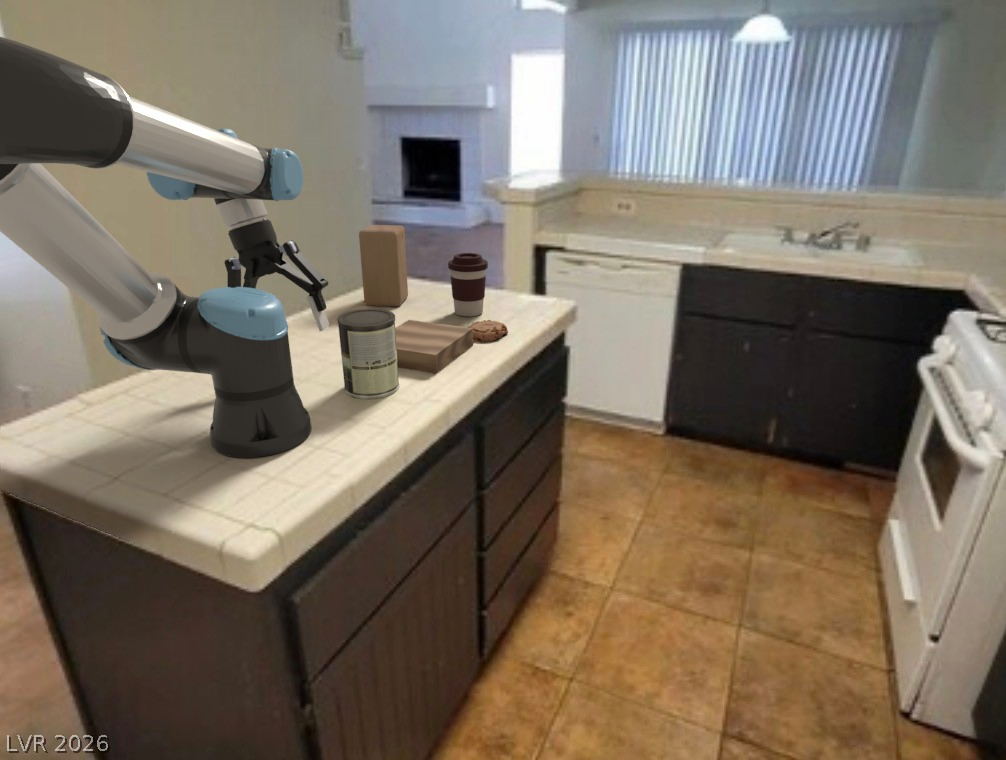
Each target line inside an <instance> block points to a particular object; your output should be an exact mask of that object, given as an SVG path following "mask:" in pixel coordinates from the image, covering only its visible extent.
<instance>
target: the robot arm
mask: <svg viewBox="0 0 1006 760" xmlns="http://www.w3.org/2000/svg"><path fill="white" fill-rule="evenodd" d="M42 164H63V165H74V166H75V165H76V166H81V167H85V168H89V169H90V168H91V169H97V170H98V169H99V170H100V169H106V168H109V167H112V166H114V165H117V166H121V167H122V166H123V167H126V168H130V169H134V170H138V171H143V172H146V175H147V180H148V182H149V185H150V186H151V188H152V189H153V190H154V191H155V193H157V194H158V195H159V196H160V197H162V198H164V199H167V200H169V201H176V200H177V201H179V200H180V201H181V200H182V201H187V200H188V199H192V198H193V199H195V198H200V199H202V198H204V199H213V200H214V202H215V204H216V208H217V211H218V213H219V216H220V218H221V220H222V224H223V225H224V227H225V228H229V229H230V230H228V233H227V234H228V237H229V239H230V242H231V244H232V246H233V249H234V250H235V251H236V253H237V254H238V257H236V256H233V257H231V258H227V259H225V260H224V265H225V269H226V273H227V286H223V287H218V288H217V287H216V288H213V289H208V290H206V291H204V292H202V294H200V295H199V296H190V295H187V294H185V293H184V292H182V290H181V289H179V287H178V285H176V284H175V283H174V282H173V280H171V278H169V277H167V276H165V275H164V274H162V273H160V272H152V271H150V272H149V271H147V270H146V269H145V268H144V267H143V266H142V265H141V264H140V263H139V262H138V260H136V259H135V258H134V257H133V255H131V253H130V252H129V251H127V250H126V248H125V247H123V246H122V245H121V243H120V242H119V241H118V240H116V238H114V236H113V235H111V233H110V232H109V231H108V230H107V229H106V228H105V227H104V226H103V225H102V224H101V223H100V222H99V221H98V220H97V219H96V218H95V217H94V216H93V215H92V214H91V213H90V212H89V211H88V210H87V209H86V208H85V207H84V206H83V205H82V204H81V203H80V202H79V201H78V200H77V199H76V198H75V197H74V196H73V195H72V194H71V193H70V191H68V190H67V189H66V188H65V187H64V186H63V185H62V184H61V182H59V181H58V180H57V179H56V178H55V177H54V175H52V174H51V172H49V171H48V170H47V169H46V167H44V166H43V165H42ZM303 186H304V170H303V165H302V162H301V161H300V159H299V156H298V155H297V154H296V153H295V152H294V151H292V150H290V149H286V148H285V149H284V148H283V149H282V148H278V147H273V148H266V147H261V146H259V145H255V144H253V143H249V142H246V141H244V140H242V139H240V138H238V135H237V133H236V132H235V131H234V130H232V129H230V128H220V129H214V128H212V127H209V126H205V125H204V124H201V123H198V122H196V121H194V120H191V119H189V118H186V117H183V116H181V115H179V114H176V113H174V112H170V111H168V110H165V109H163V108H161V107H157V106H156V105H153V104H151V103H147V102H145V101H143V100H140V99H137V98H135V97H133V96H131V95H128V94H127V92H126V90H125V89H124V88H123V87H122V86H121V85H120V84H119V83H118V82H117V81H116V80H114V79H112V77H111V78H110V77H109V76H106V75H104V74H102V73H99V72H97V71H95V70H92V69H90V68H87V67H85V66H82V65H80V64H78V63H75V62H72V61H70V60H67V59H66V58H62V57H60V56H58V55H55V54H53V53H50V52H47V51H45V50H42V49H39V48H36V47H33V46H31V45H28V44H25V43H22V42H21V41H17V40H13V39H10V38H7V37H3V36H0V233H1V234H3V235H4V236H5V237H7V238H8V239H9V240H10V241H11V242H12V243H13V244H15V245H16V246H17V247H18V248H20V250H22V251H23V252H25V253H26V254H27V255H28V256H29V257H31V258H32V259H33V260H34V261H35V262H36V263H38V264H39V265H40V266H41V267H43V268H44V269H45V270H46V271H47V272H49V274H51V275H52V276H53V277H54V278H56V279H57V280H58V281H59V282H61V283H62V285H64V286H65V287H67V288H68V289H69V290H70V291H72V293H74V294H75V295H77V297H79V298H80V299H81V300H83V302H85V303H86V304H87V305H88V306H90V307H91V308H92V309H94V311H96V312H97V314H98V315H97V320H98V325H99V330H100V334H101V335H102V336H104V339H103V341H102V342H103V344H104V346H105V348H106V350H107V351H108V353H110V354H111V356H113V357H114V358H115V360H118V361H119V362H121V363H123V364H124V365H127V366H131V367H134V368H137V369H142V370H149V371H157V370H160V371H170V372H171V371H173V372H183V373H196V374H203V375H204V374H205V375H210V376H211V379H212V383H213V388H214V395H215V399H214V406H213V413H212V422H211V425H210V426H209V427H210V428H209V435H210V440H211V446H212V447H213V449H214V450H215V451H216V452H218V453H220V454H222V455H224V456H228V457H232V458H242V459H243V458H244V459H247V458H249V459H250V458H262V457H267V456H272V455H273V456H274V455H276V454H279V453H283V452H285V451H288V450H291V449H293V448H294V447H296V446H298V445H300V444H302V443H303V442H304V441H305V440H306V439H308V437H309V436H310V435H311V432H312V424H311V416H310V414H309V412H308V410H307V408H306V407H305V406H304V403H303V401H302V399H301V396H300V395H299V392H298V390H297V388H296V385H295V382H294V381H295V379H294V371H293V365H292V357H291V348H290V340H289V339H290V338H289V331H288V330H289V323H288V321H287V317H286V314H285V310H284V306H283V304H282V302H281V301H280V299H279V298H278V297H277V296H276V295H274V294H273V293H270V292H269V291H265V290H262V289H258V288H257V284H258V282H259V281H258V280H259V279H260V278H262V277H265V276H268V275H269V276H270V275H273V274H275V273H277V274H279V275H282V276H283V277H285V278H287V279H288V280H289V281H291V282H292V283H293V284H295V285H296V286H297V287H299V288H300V289H302V291H305V292H306V293H307V294H308V296H306V300H307V302H308V304H309V307H310V310H311V312H312V315H313V317H314V320H315V324H316V325H317V328H318V331H319V332H322V331H325V330H326V329H328V328H329V327H330V323H329V319H328V317H327V315H326V312H325V310H326V309H327V304H326V301H325V299H324V296H323V293H322V291H323V289H324V288H326V287H328V286H329V281H328V279H326V278H325V276H324V275H323V274H322V273H321V271H319V270H318V269H317V268H316V266H314V265H313V263H312V262H311V261H309V259H308V258H307V257H306V256H305V255H304V254H303V253H302V252H301V250H300V248H299V246H298V244H297V242H296V241H295V240H293V239H292V240H290V241H287V242H284V243H283V244H282V245H280V243H278V239H277V238H278V237H277V233H276V231H275V228H274V226H273V223H272V220H270V219H269V218H268V219H267V218H266V217H267V216H268V214H269V213H268V211H267V209H266V206H265V203H264V201H275V202H279V201H292V200H295V199H296V198H298V197H299V196H300V194H301V192H302V189H303ZM284 255H285V256H286V257H288V259H290V261H291V263H293V264H294V265H295V266H296V267H297V268H298V269H299V270H298V269H296V268H295V267H294V266H292V264H291V263H290V262H289V261H287V260H286V259H284V258H283V256H284ZM242 267H243V268H244V269H245V272H244V275H243V280H244V282H243V285H242Z"/></svg>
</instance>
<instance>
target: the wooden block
mask: <svg viewBox="0 0 1006 760" xmlns="http://www.w3.org/2000/svg"><path fill="white" fill-rule="evenodd" d="M405 233H406V231H405V227H404V226H403V225H399V224H398V225H397V224H395V225H394V224H389V225H388V224H370V225H367V226H366V227H364V228H363V229H361V230H359V232H358V239H359V240H358V242H359V250H360V251H359V252H360V253H359V254H360V264H361V275H362V288H363V301H364V304H365V305H366V306H371V307H373V306H375V307H376V306H377V307H400V306H401V305H402V304H403V303H404V302H405V301H406V299H408V296H409V290H408V289H409V288H408V272H407V271H408V270H407V268H408V267H407V253H406V252H407V250H406V248H407V247H406V234H405Z"/></svg>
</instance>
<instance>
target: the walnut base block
mask: <svg viewBox="0 0 1006 760" xmlns="http://www.w3.org/2000/svg"><path fill="white" fill-rule="evenodd" d="M467 327H468V326H467ZM467 327H465V326H459V325H451V324H444V323H438V322H428V321H420V320H413V319H408V320H406V321H404V322H402V323H401V324H399V325H397V326H395V332H396V348H397V364H398V369H399V368H400V369H406V370H412V371H417V372H418V371H419V372H425V373H431V374H438V373H439V372H441V371H442V370H443V369H444V368H446V367H447V366H448V365H450V364H451V363H452V362H454V361H455V360H456V359H457V358H458V357H460V356H461V355H462V354H464V353H465V352H466V351H468V350H469V349H471V348H472V347H473V346H474V340H473V328H467Z"/></svg>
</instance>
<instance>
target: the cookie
mask: <svg viewBox="0 0 1006 760" xmlns="http://www.w3.org/2000/svg"><path fill="white" fill-rule="evenodd" d="M467 328H473V342H474V341H475V342H476V343H477V342H481V343H485V342H490V343H491V342H494V341H496V340H499V339H501V338H502V337H503V336H504V335H507V334H509V330H508V327H507V325H506V324H505V323H503V322H500V321H496V320H490V319H487V320H481V321H478V320H477V321H475V322H472V324H470V325H469V326H467Z"/></svg>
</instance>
